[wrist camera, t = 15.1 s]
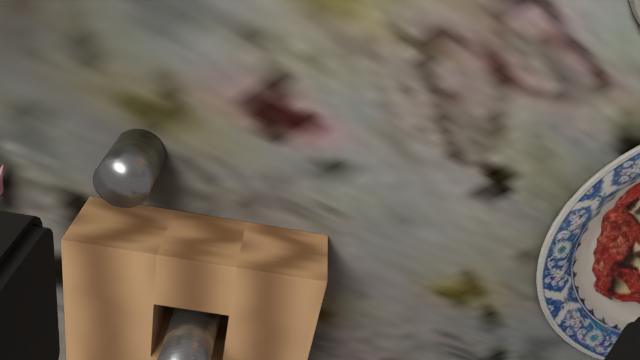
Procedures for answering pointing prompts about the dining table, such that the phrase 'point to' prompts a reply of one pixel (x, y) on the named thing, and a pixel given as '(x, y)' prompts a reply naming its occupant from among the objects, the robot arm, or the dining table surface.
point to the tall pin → (190, 335)
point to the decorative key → (1, 180)
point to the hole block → (188, 283)
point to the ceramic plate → (595, 259)
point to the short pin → (130, 168)
